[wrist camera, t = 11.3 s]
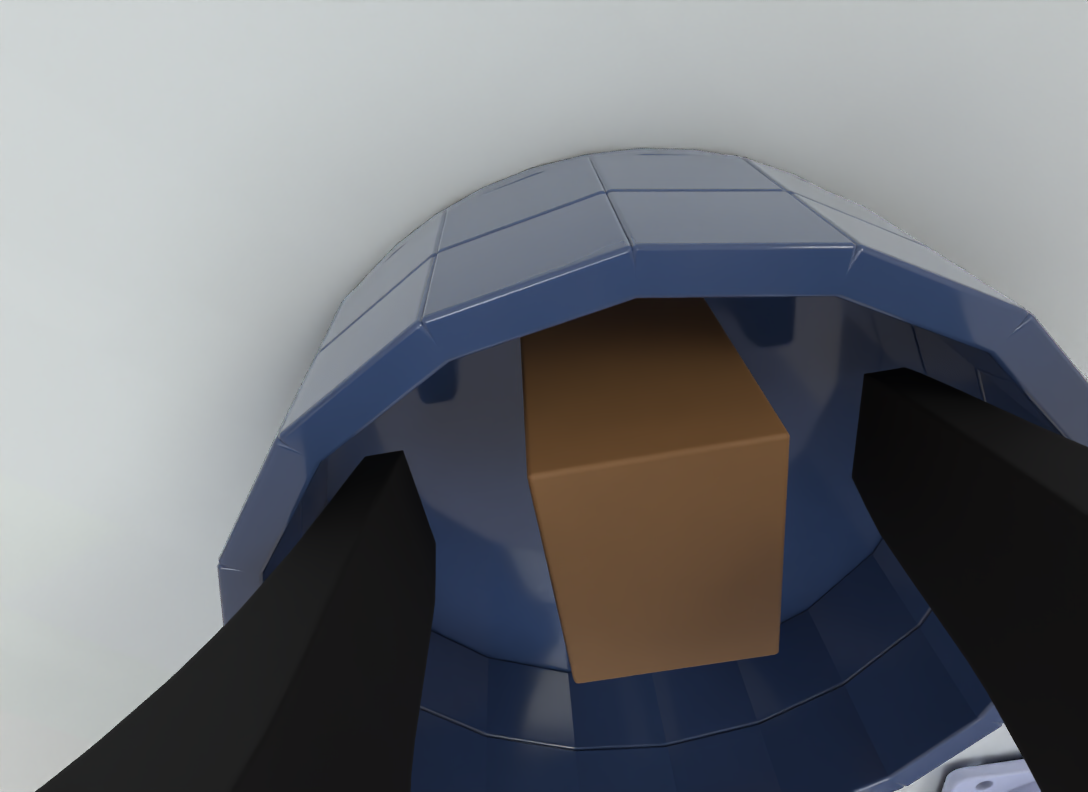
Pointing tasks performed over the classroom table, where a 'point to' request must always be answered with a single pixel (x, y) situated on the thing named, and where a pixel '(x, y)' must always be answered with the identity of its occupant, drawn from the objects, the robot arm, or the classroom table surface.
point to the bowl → (506, 503)
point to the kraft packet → (655, 489)
